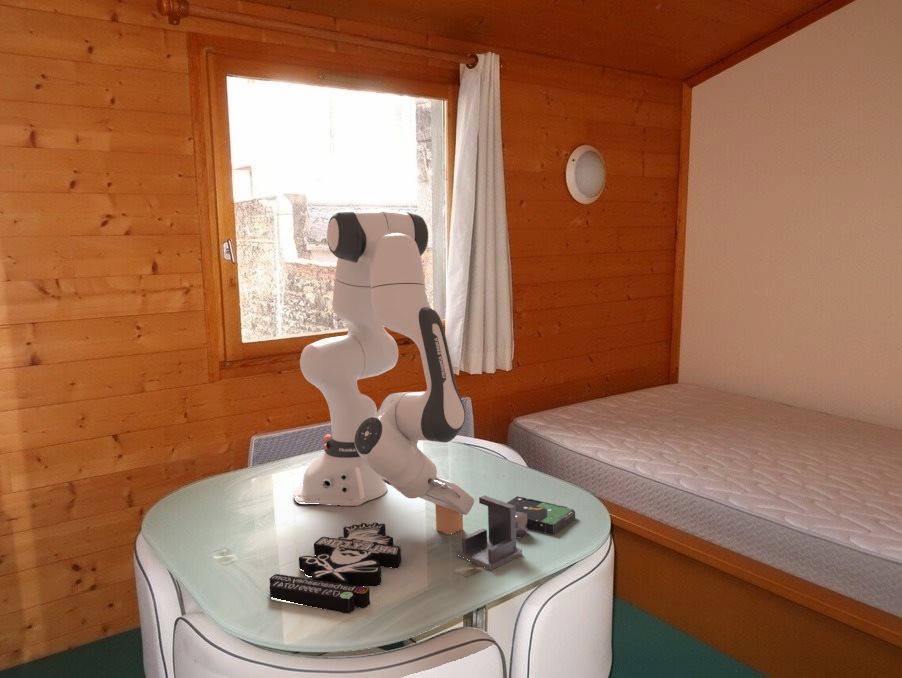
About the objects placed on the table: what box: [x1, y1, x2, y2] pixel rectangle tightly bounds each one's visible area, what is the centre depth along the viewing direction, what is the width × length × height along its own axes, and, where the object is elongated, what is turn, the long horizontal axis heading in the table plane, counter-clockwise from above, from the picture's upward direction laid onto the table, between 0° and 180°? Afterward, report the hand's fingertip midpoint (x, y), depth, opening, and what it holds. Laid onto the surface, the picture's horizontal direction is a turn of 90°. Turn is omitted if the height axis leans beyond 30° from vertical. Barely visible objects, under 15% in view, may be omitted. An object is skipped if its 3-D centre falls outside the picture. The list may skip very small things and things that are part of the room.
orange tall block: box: [435, 504, 464, 535], centre depth 150 cm, size 4×4×9 cm
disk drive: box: [506, 495, 576, 536], centre depth 154 cm, size 10×3×15 cm
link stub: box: [516, 512, 528, 538], centre depth 147 cm, size 4×4×4 cm
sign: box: [269, 521, 402, 615], centre depth 135 cm, size 19×3×30 cm
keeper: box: [456, 495, 523, 571], centre depth 138 cm, size 9×10×10 cm
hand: (451, 507), depth 150 cm, fingers open, 5 cm apart
